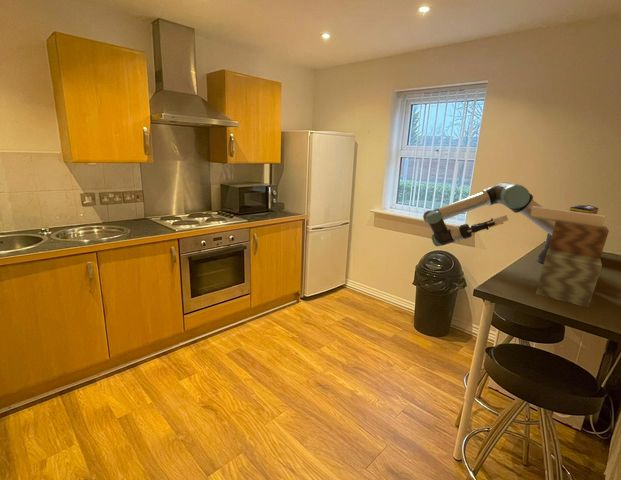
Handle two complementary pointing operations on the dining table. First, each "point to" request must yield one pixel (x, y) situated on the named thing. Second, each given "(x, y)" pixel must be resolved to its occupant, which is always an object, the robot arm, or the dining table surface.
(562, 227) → the two-tone wood block
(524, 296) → the dining table surface
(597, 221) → the white long bar
